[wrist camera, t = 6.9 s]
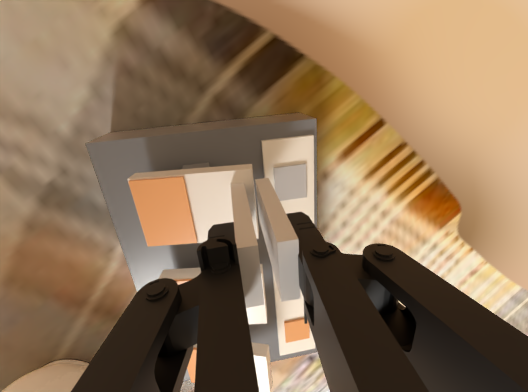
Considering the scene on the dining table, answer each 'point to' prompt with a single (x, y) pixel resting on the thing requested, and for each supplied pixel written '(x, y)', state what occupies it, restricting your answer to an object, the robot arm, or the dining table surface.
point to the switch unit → (213, 155)
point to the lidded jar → (50, 377)
